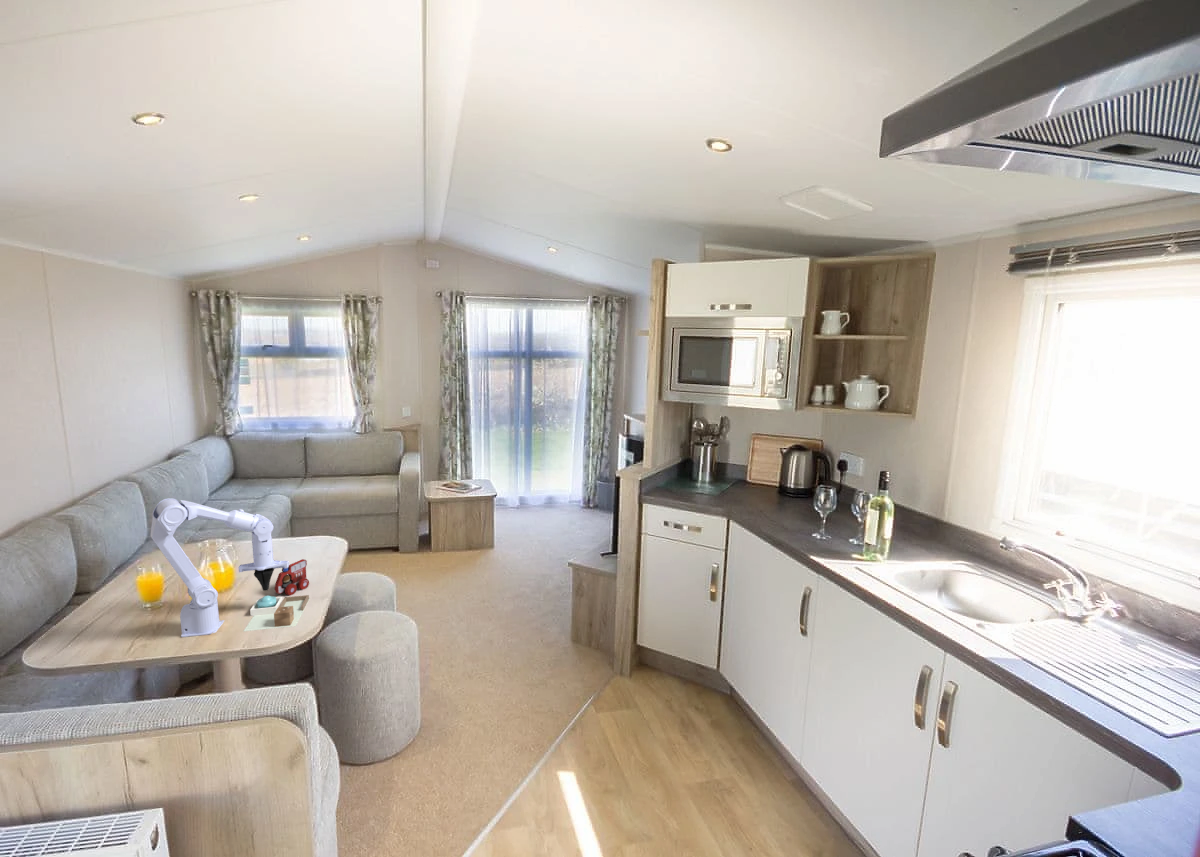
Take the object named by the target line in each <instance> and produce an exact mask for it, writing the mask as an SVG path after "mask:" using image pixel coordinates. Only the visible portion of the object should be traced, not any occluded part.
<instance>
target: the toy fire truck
mask: <svg viewBox="0 0 1200 857" xmlns="http://www.w3.org/2000/svg"><path fill="white" fill-rule="evenodd" d="M307 562H308V560H306V559H300V560H297V561H295V562H293V563H291V564H290V563H289V567H288V568H281V571H280V572H279V573H278V574H277V578H276V582H275V584H274V592H275V593H276V594H279V595H280V594H282V593H285V595H287V596H292V595H294V594H295V593H296V592H297V590H298V589H299V590H302V591H303V590H306V589H307V588H309V585H310V581H309V579H308V578H307V566H308V563H307Z"/></svg>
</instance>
